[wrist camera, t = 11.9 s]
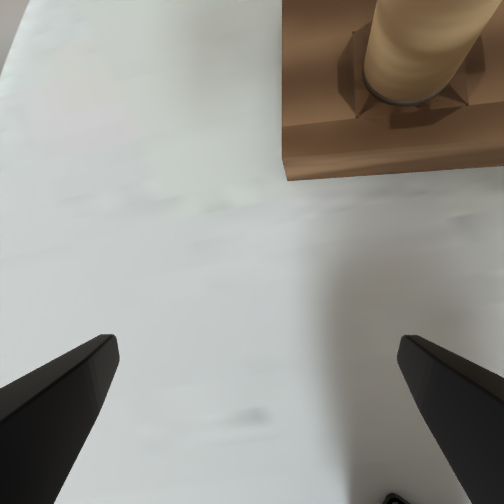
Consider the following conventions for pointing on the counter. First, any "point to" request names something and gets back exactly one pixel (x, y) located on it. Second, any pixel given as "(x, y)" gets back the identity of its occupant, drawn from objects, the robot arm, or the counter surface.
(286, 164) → the seat block
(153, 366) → the counter surface
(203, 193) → the counter surface
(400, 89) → the dowel
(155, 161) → the counter surface
